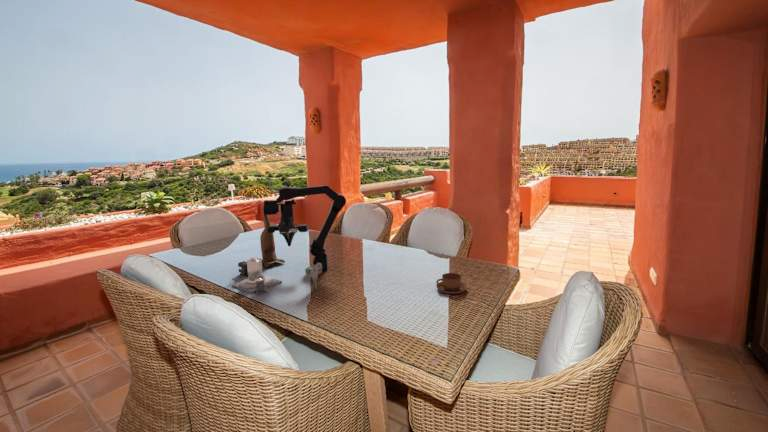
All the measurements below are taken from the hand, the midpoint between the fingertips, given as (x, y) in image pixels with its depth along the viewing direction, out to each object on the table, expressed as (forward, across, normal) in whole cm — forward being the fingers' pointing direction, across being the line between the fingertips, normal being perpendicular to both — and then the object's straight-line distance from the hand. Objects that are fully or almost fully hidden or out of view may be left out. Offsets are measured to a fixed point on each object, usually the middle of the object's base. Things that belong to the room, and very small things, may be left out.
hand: (289, 246), depth 166 cm
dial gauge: (+13, -6, -26) cm, 29 cm away
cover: (+11, -11, -16) cm, 23 cm away
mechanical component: (+13, +16, -23) cm, 31 cm away
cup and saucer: (+13, +72, -29) cm, 79 cm away
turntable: (+13, -11, -16) cm, 23 cm away
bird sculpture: (+13, -15, +13) cm, 24 cm away
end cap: (+13, -19, -1) cm, 23 cm away
